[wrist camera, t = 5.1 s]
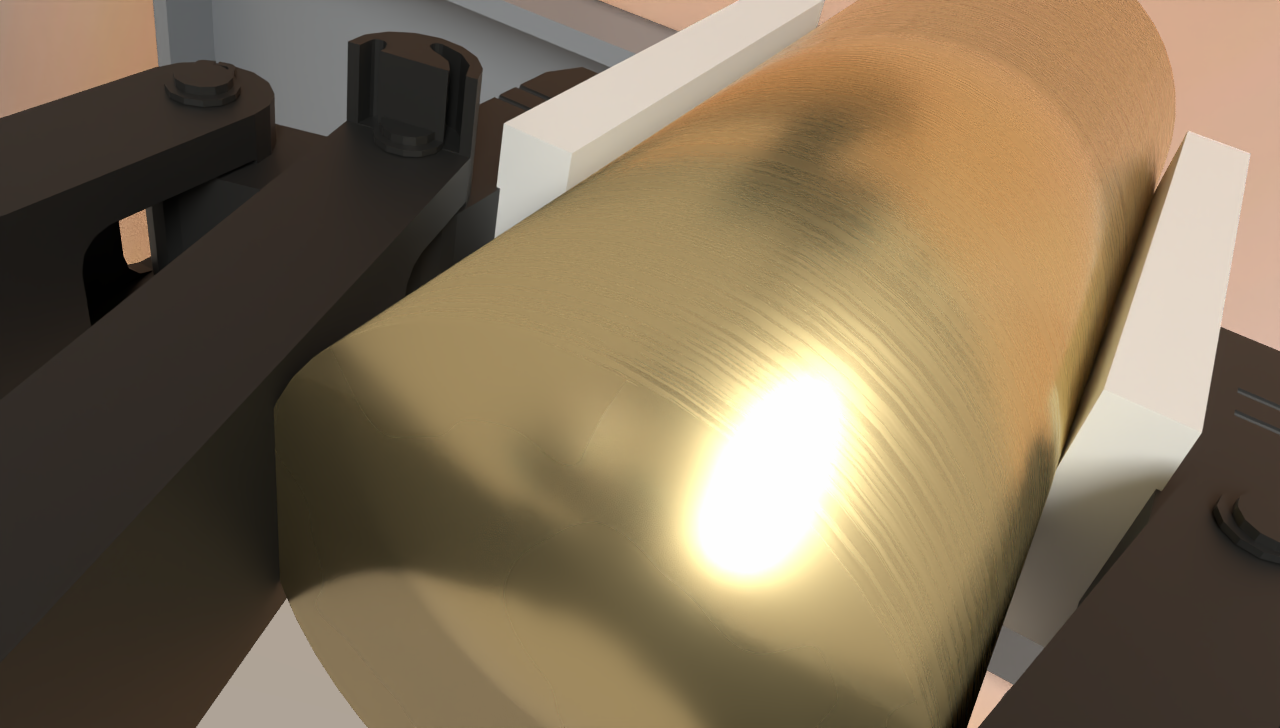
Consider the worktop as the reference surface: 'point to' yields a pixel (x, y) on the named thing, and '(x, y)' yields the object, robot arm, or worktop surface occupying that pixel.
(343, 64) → the tray
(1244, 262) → the worktop surface
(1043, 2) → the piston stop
